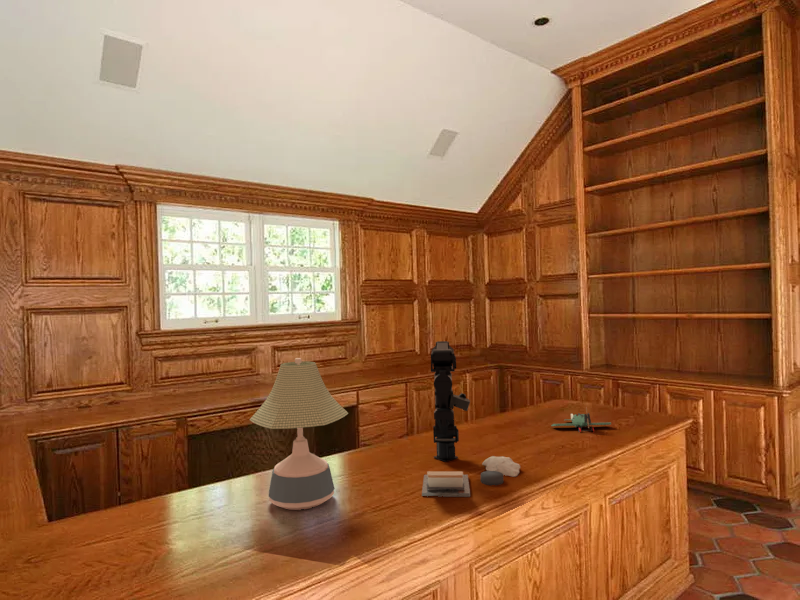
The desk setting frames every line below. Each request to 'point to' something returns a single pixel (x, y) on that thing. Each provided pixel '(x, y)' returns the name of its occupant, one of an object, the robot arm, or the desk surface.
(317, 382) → the desk lamp
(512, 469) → the decorative stone
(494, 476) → the grey river pebble
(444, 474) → the bowl
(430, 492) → the grey flat slab
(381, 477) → the desk surface
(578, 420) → the toy airplane
